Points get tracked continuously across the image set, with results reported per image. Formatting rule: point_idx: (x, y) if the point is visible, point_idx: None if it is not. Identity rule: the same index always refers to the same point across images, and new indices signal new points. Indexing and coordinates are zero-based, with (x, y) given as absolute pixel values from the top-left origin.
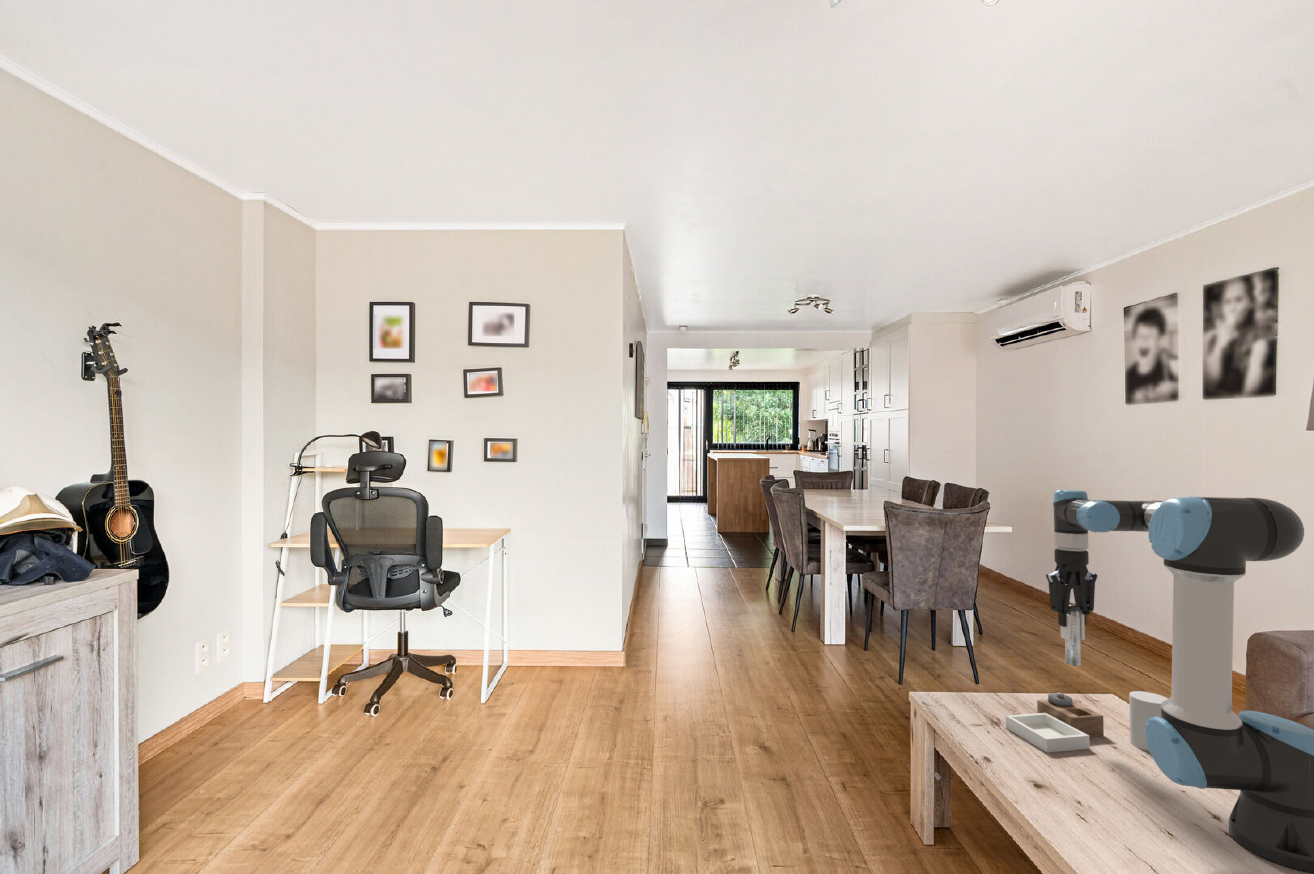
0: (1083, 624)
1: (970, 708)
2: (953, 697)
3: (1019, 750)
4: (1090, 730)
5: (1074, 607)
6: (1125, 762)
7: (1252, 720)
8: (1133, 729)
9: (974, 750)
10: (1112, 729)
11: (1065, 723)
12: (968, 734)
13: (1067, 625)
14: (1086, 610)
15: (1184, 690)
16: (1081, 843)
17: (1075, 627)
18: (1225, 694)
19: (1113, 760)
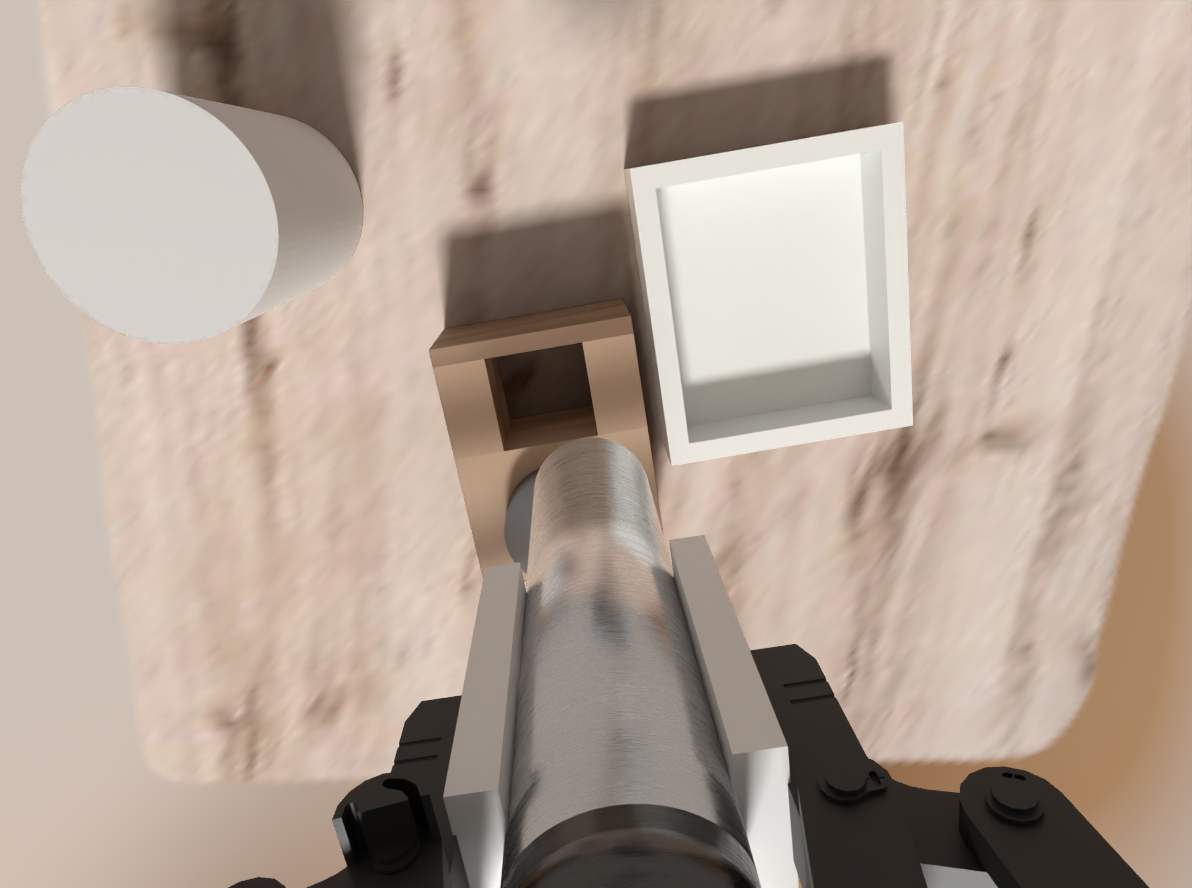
0: (485, 675)
1: (910, 616)
2: (908, 731)
3: (995, 150)
4: (519, 321)
5: (686, 877)
6: (541, 5)
7: None
8: (342, 213)
9: None
10: (353, 396)
11: (654, 330)
12: (1120, 331)
13: (745, 648)
14: (370, 877)
15: None
16: None
17: (632, 621)
18: None
19: (589, 30)
